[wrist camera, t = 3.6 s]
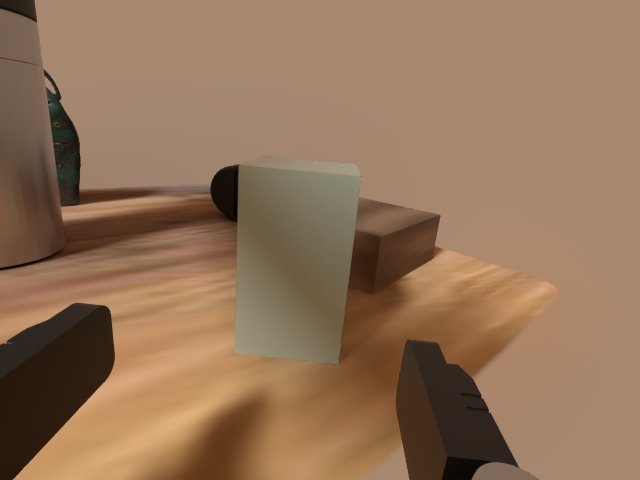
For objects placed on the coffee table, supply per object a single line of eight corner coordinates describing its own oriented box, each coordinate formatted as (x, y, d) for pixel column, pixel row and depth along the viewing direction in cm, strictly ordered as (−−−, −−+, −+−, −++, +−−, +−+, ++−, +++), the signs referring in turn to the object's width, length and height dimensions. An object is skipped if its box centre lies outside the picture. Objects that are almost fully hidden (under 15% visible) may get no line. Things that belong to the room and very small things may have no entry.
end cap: (241, 204, 54) (242, 157, 52) (287, 210, 53) (290, 163, 51) (209, 219, 44) (209, 163, 42) (265, 227, 43) (267, 170, 41)
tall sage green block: (234, 352, 20) (238, 164, 17) (257, 304, 25) (263, 155, 22) (338, 364, 19) (361, 176, 16) (339, 313, 25) (356, 164, 22)
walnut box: (264, 255, 35) (266, 204, 33) (336, 234, 44) (341, 193, 43) (372, 298, 28) (381, 236, 27) (431, 262, 37) (440, 214, 36)
